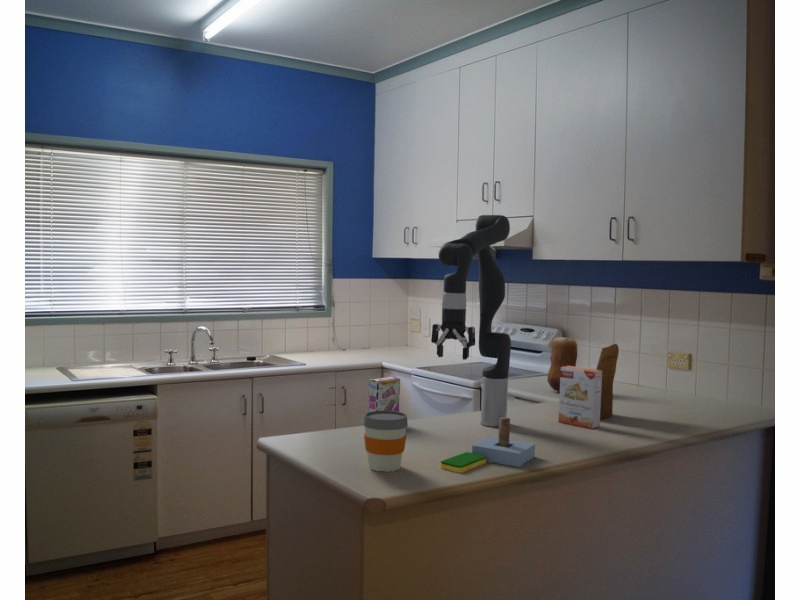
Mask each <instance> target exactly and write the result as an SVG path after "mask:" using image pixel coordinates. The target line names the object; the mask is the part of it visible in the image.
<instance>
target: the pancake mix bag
mask: <svg viewBox="0 0 800 600" xmlns="http://www.w3.org/2000/svg"><path fill="white" fill-rule="evenodd" d="M619 349H620V348H619V345H618V344H617V343H614V344H611V345H608V346H606V347H602V348H601V351H600V355H599V357H598V362H597V365H596V369H595V370H601V371H602V387H601V409H600V421H601V420H605V419H607V418H610V417H613V403H614V401H613V400H614V398H613V397H614V393H613V392H614V381H615V377H616V376H615V375H616V371H617V370H616V369H617V363H618V358H619V351H620V350H619Z"/></svg>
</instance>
